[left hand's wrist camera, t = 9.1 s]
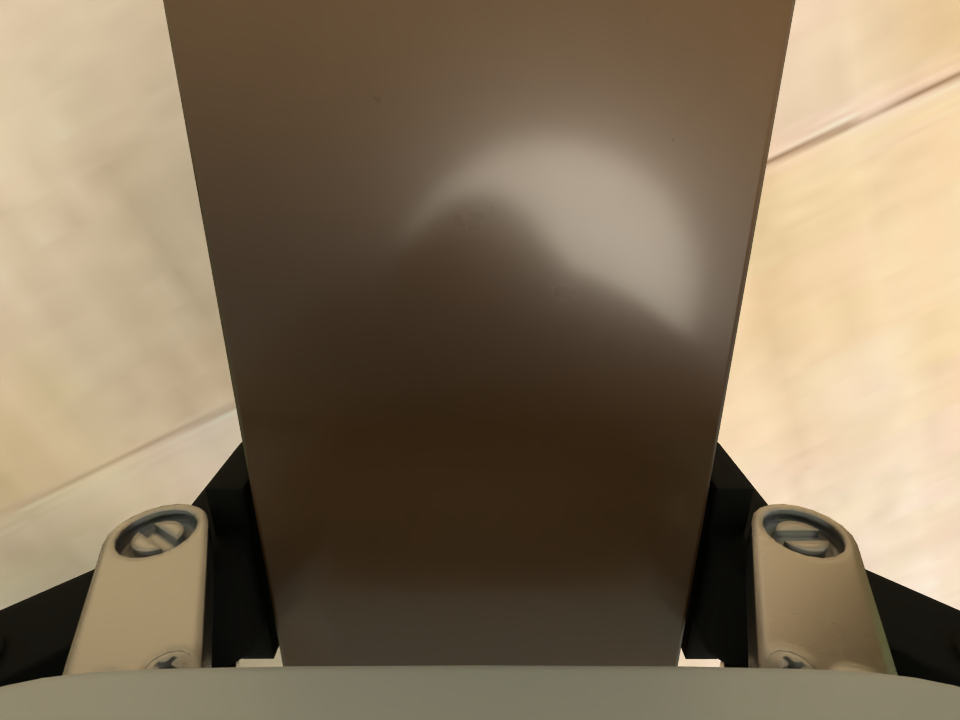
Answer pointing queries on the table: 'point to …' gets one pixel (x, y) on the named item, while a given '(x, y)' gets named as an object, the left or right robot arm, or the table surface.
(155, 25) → the table surface
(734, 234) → the post
